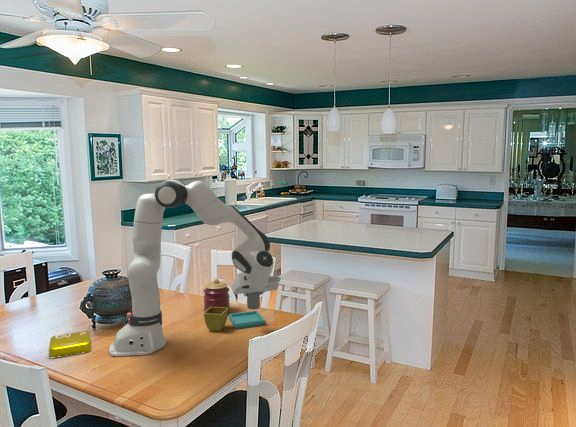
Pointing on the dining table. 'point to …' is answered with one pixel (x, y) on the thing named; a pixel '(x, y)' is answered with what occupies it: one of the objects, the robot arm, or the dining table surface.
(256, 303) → the dark grey cylinder
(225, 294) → the canister
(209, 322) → the flower pot
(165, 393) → the dining table surface
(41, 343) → the dining table surface
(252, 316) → the tray
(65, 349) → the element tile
